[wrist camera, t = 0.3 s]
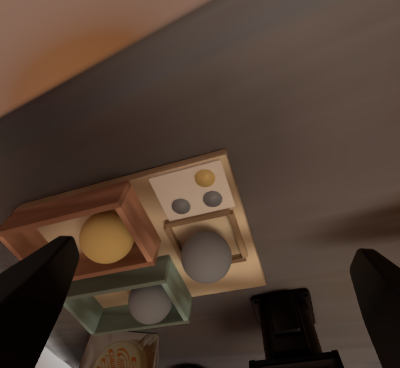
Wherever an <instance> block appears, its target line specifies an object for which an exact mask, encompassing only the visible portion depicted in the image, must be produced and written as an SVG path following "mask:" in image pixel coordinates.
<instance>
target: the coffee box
mask: <svg viewBox="0 0 400 368" xmlns="http://www.w3.org/2000/svg"><path fill="white" fill-rule="evenodd" d="M158 361H159V335H158V334H150V333H139V332H121V333H113V334H106V335H99V336H92V335H91V336H90V338H89V341H88V344H87V346H86V349H85V352H84V355H83V357H82V360H81V363H80V366H79V368H157V367H158Z"/></svg>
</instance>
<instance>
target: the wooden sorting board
mask: <svg viewBox="0 0 400 368" xmlns="http://www.w3.org/2000/svg"><path fill="white" fill-rule="evenodd" d="M219 158H220V159H221V162H222V165H223V168H224V171H225V175H226V178H227V181H228V184H229V187H230V190H231V193H232V196H233V199H234V202H235V207H231V208H227V209H222V210H218V211H213V212H209V213H204V214H200V215H195V216H191V217H187V218H182V219H178V220H173V221H169V220H168V218H167V216H166V214H165V212H164V210H163V208H162V206H161V204H160V202H159V200H158V198H157V196H156V194H155V192H154V190H153V188H152V186H151V184H150V182H149V180H148V178H149V177H151V176H155V175H159V174H163V173H167V172H170V171H174V170H178V169H182V168H185V167H189V166H193V165H197V164H200V163H204V162H208V161H212V160H215V159H219ZM108 210H111V211H116V212H117V213H118V215H119V216H120V218H121V220H122V221H123V223H124V225H125V226H126V228H127V229H128V231H129V233H130V234H131V236H132V238H133V239H134V243H133V245H132V248H131V249H130V251H129V252H128V254H127V255H126V256H125V257H123V258H122V259H120V260H119V261H116V262H114V263H109V264H101V263H97V262H94V261H92V260H90V259H89V258H88V257H87V256H86V255H85V254H84V253H83V251H82V249H81V247H80V242H79V235H80V231H81V228H82V226H83V224H84V223H85V221H86V220H87V219H88V218H89V217H91V216H92V215H94V214H96V213H100V212H104V211H108ZM203 231H210V232H214V233H217V234H219V235H220V236H222V237H223V238H224V239H225V240H226V242H227V243H228V245H229V247H230V249H231V254H232V262H231V266H230V269H229V271H228V272H227V274H226V275H225V276H224V277H223V278H222V279H220V280H219V281H217V282H214V283H211V284H202V283H199V282H196V281H194V280H193V279H191V278H190V277H189V276H188V275H187V274H186V272H185V271H184V269H183V266H182V262H181V252H182V249H183V246H184V244H185V243H186V241H187V240H188V239H189V238H190V237H191V236H192V235H194V234H196V233H198V232H203ZM62 235H63V236H73V237H74V239H75V242H76V245H77V248H78V251H79V255H80V258H79V262H78V265H77V268H76V271H75V274H74V277H73V280H72V283H71V286H70V289H69V291H68V294H67V297H66V300H65V303H64V305H63V306H64V307H65V308H66V309H67V310H68V311H69V312H70V313H71V314H72V315H73V316H74V317H75V319H76V320H77V321H78V322H79V323H80V324H81V325H82V326H83V327H84V328H85V329H86V330H87V331H88V332H89V333H90V334H91V335H92V336H99V335H106V334H113V333H121V332H128V331H135V330H142V329H150V328H157V327H164V326H172V325H179V324H186V323H190V317H191V306H192V297H195V296H201V295H208V294H214V293H220V292H226V291H233V290H239V289H245V288H252V287H258V286H264V285H266V281H265V276H264V273H263V270H262V267H261V263H260V260H259V257H258V253H257V250H256V247H255V244H254V240H253V237H252V234H251V231H250V227H249V224H248V221H247V217H246V214H245V211H244V208H243V204H242V201H241V198H240V194H239V191H238V188H237V185H236V181H235V178H234V175H233V171H232V168H231V165H230V162H229V158H228V155H227V152H226V149H222V150H218V151H215V152H211V153H207V154H204V155H200V156H196V157H193V158H189V159H185V160H182V161H178V162H174V163H171V164H167V165H163V166H160V167H156V168H152V169H149V170H145V171H141V172H138V173H134V174H130V175H127V176H123V177H119V178H116V179H112V180H108V181H105V182H101V183H97V184H93V185H90V186H86V187H82V188H79V189H75V190H71V191H68V192H64V193H60V194H57V195H53V196H49V197H46V198H42V199H38V200H35V201H31V202H27V203H24V204H20V205H19V206H18V207H17V208H16V209H15V210H14V213H13V214H12V215H11V216H10V217H9V218H8V219H7V220H6V221H5V222H4V223H3V224H2V225H1V226H0V241H1V242H2V243H3V244H4V245H5V246H6V247H7V248H8V249H9V250H10V251H11V252H12V253H13V254H14V255H15V256H16V257H17V258H18V259H19V261H21V260H22V259H24V258H25V257H27V256H28V255H30V254H32V253H33V252H35V251H36V250H38V249H39V248H41V247H42V246H44V245H46V244H47V243H49V242H50V241H52V240H53V239H55V238H57V237H58V236H62ZM159 284H161V285H162V286H163V288H164V290H165V291H166V293H167V294H168V296H169V298H170V299H171V301H172V307H171V309H170V311H169V313H168V315H167V316H166V317H165V318H164V319H163V320H161V321H160V322H158V323H155V324H150V325H147V324H142V323H140V322H138V321H137V320H136V319H135V318H134V317H133V316H132V315H131V313H130V310H129V306H128V298H129V294H130V292H131V290H132V289H136V288H142V287H148V286H154V285H159Z"/></svg>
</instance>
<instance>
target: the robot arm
mask: <svg viewBox="0 0 400 368" xmlns="http://www.w3.org/2000/svg"><path fill="white" fill-rule="evenodd" d="M79 258H80V255H79V251H78V248H77V245H76V242H75V239H74V237H73V236H63V235H62V236H58V237H57V238H55V239H53V240H52V241H50V242H49V243H47V244H46V245H44V246H42V247H41V248H39V249H38V250H36V251H35V252H33V253H32V254H30V255H28V256H27V257H25V258H24V259H22V260H21V261H19V262H18V263H16V264H14V265H13V266H11V267H10V268H8V269H7V270H5V271H3V272H2V273H0V368H35V366H36V363H37V362H38V359H39V357H40V355H41V353H42V351H43V349H44V347H45V344H46V342H47V340H48V338H49V336H50V334H51V331H52V329H53V327H54V325H55V323H56V321H57V319H58V316H59V314H60V312H61V310H62V308H63V305H64V303H65V300H66V297H67V294H68V291H69V289H70V286H71V283H72V280H73V277H74V274H75V271H76V268H77V265H78V262H79ZM350 275H351V279H352V282H353V286H354V289H355V293H356V296H357V300H358V303H359V307H360V310H361V314H362V317H363V320H364V323H365V325H366V328H367V331H368V333H369V336H370V338H371V341H372V343H373V346H374V348H375V350H376V353H377V355H378V358H379V360H380V363H381V365H382V368H400V268H399V267H398V266H396V265H395V264H394V263H392V262H391V261H389V260H388V259H387V258H385V257H384V256H382V255H381V254H380V253H378V252H377V251H375V250H374V249H365V248H360V249H358V250H357V251H356V254H355V256H354V258H353V261H352V263H351V266H350ZM251 303H252V306H253V309H254V311H255V314H256V317H257V320H258V322H259V325H260V328H261V330H262V337H263V344H264V352H265V359H266V360H258V361H255V360H250V361H249V368H344V366H343V364H342V361H341V358H340V356H339V353H338V350H331V351H332V352H324V353H322V349H321V346H320V343H319V340H318V336H317V333H316V330H315V327H314V324H315V318H314V312H313V307H312V301H311V296H310V292H309V290H308V289H302V290H295V291H288V292H282V293H275V294H268V295H262V296H255V297H252V298H251Z"/></svg>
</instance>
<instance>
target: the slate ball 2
mask: <svg viewBox="0 0 400 368" xmlns="http://www.w3.org/2000/svg"><path fill="white" fill-rule="evenodd" d="M181 262H182V266H183V269H184V271H185V272H186V274H187V275H188V276H189V277H190V278H191V279H193V280H194V281H196V282H199V283H202V284H211V283H214V282H217V281H219V280H220V279H222V278H223V277H224V276H225V275H226V274H227V272H228V271H229V269H230V266H231V262H232V254H231V249H230V247H229V245H228V243H227V242H226V240H225V239H224V238H223V237H222V236H220V235H219V234H217V233H214V232H210V231H203V232H198V233H196V234H194V235H192V236H191V237H190V238H189V239H188V240H187V241H186V243H185V244H184V246H183V249H182V252H181Z"/></svg>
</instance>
